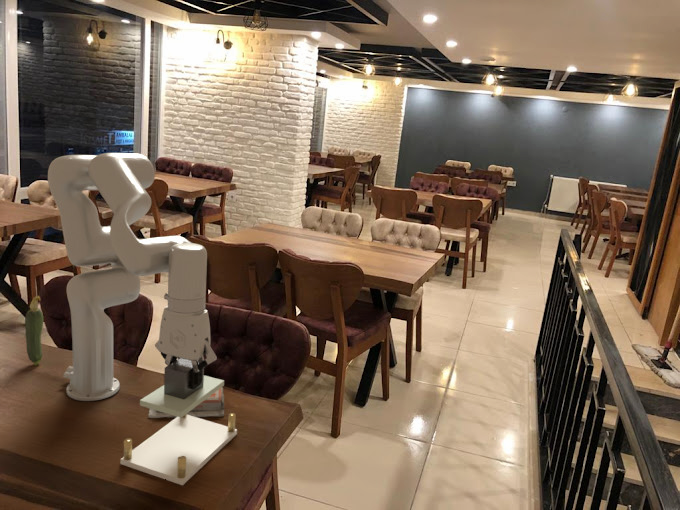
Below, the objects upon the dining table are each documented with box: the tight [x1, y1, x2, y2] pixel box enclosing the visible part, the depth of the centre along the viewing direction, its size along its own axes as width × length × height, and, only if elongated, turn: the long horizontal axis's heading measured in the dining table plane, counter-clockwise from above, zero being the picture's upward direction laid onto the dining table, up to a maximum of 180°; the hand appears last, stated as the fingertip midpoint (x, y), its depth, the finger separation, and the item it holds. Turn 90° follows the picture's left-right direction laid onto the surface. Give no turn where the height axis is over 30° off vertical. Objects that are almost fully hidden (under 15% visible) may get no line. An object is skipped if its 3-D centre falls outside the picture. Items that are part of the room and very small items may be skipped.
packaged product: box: [148, 387, 225, 419], centre depth 139 cm, size 18×5×10 cm
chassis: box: [120, 412, 238, 486], centre depth 122 cm, size 15×21×5 cm
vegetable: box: [24, 295, 44, 366], centre depth 152 cm, size 4×4×20 cm
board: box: [139, 358, 225, 418], centre depth 118 cm, size 10×16×7 cm, turn 160°
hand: (184, 382), depth 119 cm, fingers closed on board, 5 cm apart
